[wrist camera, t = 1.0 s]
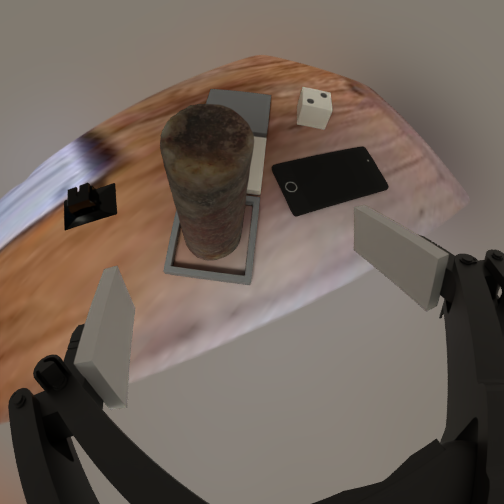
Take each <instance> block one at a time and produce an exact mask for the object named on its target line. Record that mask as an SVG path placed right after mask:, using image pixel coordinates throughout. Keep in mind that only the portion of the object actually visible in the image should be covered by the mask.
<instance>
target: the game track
mask: <svg viewBox="0 0 504 504" xmlns="http://www.w3.org/2000/svg"><path fill="white" fill-rule="evenodd" d="M270 101H271V95H266V94H258V93H250V92H241V91H231V90H218V89H211V90H210V93H209V96H208V99H207V102H206V104H217V105H223V106H226V107H228V108H231V109H232V110H234V111H235V112H237V113H238V114H239V115H240V116H241V117H242V118H243V119H244V120H245V121H247V123H248V124H249V126H250V128H251V130H252V132H253V135H254V148H253V155H252V160H251V166H250V174H249V181H248V187H247V194H253V195H260V193H261V185H262V176H263V166H264V157H265V148H266V139H267V138H266V136H267V129H268V120H269V111H270ZM259 203H260V197H254V196H246V202H245V205H252V206H253V210H252V219H251V227H250V235H249V244H248V252H247V261H246V270H245V276H241V275H233V274H225V273H217V272H210V271H202V270H195V269H187V268H180V267H173V263H174V257H175V252H176V247H177V242H178V237H179V232H180V227H181V224H180V221H179V217H178V213H177V210H176V214H175V218H174V223H173V227H172V232H171V236H170V241H169V246H168V251H167V256H166V261H165V266H164V273H165V274H170V275H177V276H184V277H191V278H199V279H206V280H214V281H221V282H229V283H237V284H245V285H250V284H251V276H252V267H253V258H254V249H255V240H256V231H257V222H258V212H259Z"/></svg>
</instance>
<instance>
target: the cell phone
mask: <svg viewBox="0 0 504 504" xmlns="http://www.w3.org/2000/svg"><path fill="white" fill-rule="evenodd" d="M272 171H273V174H274V176H275V178H276V180H277V182H278V184H279V186H280V188H281V190H282V193H283V195H284V197H285V199H286V201H287V203H288V205H289V208H290V210H291V212H292V214H293V215H294V216H300V215H303V214H306V213H309V212H313V211H316V210H319V209H323V208H326V207H330V206H333V205H336V204H340V203H343V202H346V201H350V200H353V199H357V198H360V197H364V196H367V195H371V194H374V193H377V192H381V191H384V190H387V189H388V184H387V182H386V180H385V179H384V177H383V175H382V174H381V172H380V170H379V169H378V167H377V165H376V164H375V162H374V160H373V159H372V157H371V156H370V154H369V153H368V151H367V149H366V148H365V147H357V148H351V149H346V150H340V151H335V152H330V153H325V154H320V155H315V156H311V157H306V158H302V159H297V160H293V161H288V162H284V163H280V164H276V165H273V166H272Z"/></svg>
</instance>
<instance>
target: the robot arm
mask: <svg viewBox="0 0 504 504" xmlns="http://www.w3.org/2000/svg"><path fill="white" fill-rule="evenodd" d="M354 251H356V252H357V253H358V254H359V255H361V256H362V257H363V258H364V259H365V260H367V261H368V262H369V263H370V264H372V265H373V266H374V267H375V268H376V269H378V270H379V271H380V272H381V273H382V274H384V275H385V276H386V277H387V278H388V279H390V280H391V281H392V282H393V283H394V284H395V285H397V286H398V287H399V288H400V289H401V290H402V291H403V292H405V293H406V294H407V295H408V296H409V297H410V298H411V299H413V300H414V301H415V302H416V303H417V304H418V305H420V307H422V308H423V309H424V310H425V311H428V310H430V309H432V308H434V307H436V306H437V304H438V301H439V297H440V295H441V296H442V297H443V298H444V303H443V306H442V310H441V313H440V317H439V318H442V315H443V314H444V319H445V329H446V343H447V363H448V401H447V420H446V428H445V431H444V434H443V436H442V439H441V442H440V443H439V441H438V440H437V439H435V440H434V441H432V442H431V443H429V444H428V445H427V446H425V447H424V448H422V449H421V450H419V451H417V452H416V453H414V454H413V455H411V456H410V457H409V458H408V459H407V460H406V461H405V462H404V463H403V464H402V465H401V466H400V467H399V468H398V469H397V470H396V471H394V473H392V474H391V475H390V476H389V477H388V478H387V479H385V480H384V481H382V482H379V483H376V484H372V485H368V486H364V487H360V488H355V489H351V490H347V491H343V492H341V493H338V494H336V495H333V496H331V497H329V498H326V499H323V500H321V501H318V502H315V503H312V504H504V254H503V253H502V252H501V251H499V250H498V251H497V250H488V251H487V252H486V256H485V260H480V261H478V260H477V259H476V258H474V257H473V256H471V255H468V254H458V255H456V256H454V255H453V254H451V253H450V252H448V251H447V250H445V249H443V248H442V247H440V246H437V244H435V243H434V242H431V240H429V239H427V238H425V237H424V236H421V235H417V234H416V233H414V232H412V231H411V230H409V229H407V228H405V227H404V226H402V225H400V224H399V223H397V222H395V221H393V220H391V219H390V218H388V217H386V216H384V215H382V214H381V213H379V212H377V211H375V210H373V209H371V208H369V207H368V206H366V205H362V206H358V207H354ZM500 287H501V289H502V295H501V297H500V298H499V296H498V295H497V294H498V291H499V288H500ZM134 315H135V306H134V304H133V302H132V300H131V297H130V295H129V293H128V290H127V288H126V286H125V283H124V281H123V279H122V276H121V274H120V271H119V269H118V266H114V267H110V268H107V269H104V271H103V274H102V276H101V279H100V282H99V284H98V287H97V290H96V293H95V296H94V298H93V301H92V304H91V307H90V310H89V313H88V316H87V319H86V322H85V324H82V325H78V327H77V328H76V329H75V331H74V332H73V333H72V336H71V339H70V343H69V345H68V348H67V349H68V350H67V352H66V355H65V358H64V362H63V361H62V359H61V358H60V357H59V356H58V355H49V356H46V357H45V358H43V359H41V360H40V361H39V362H38V363H37V365H36V367H35V368H34V373H33V375H34V378H35V380H36V381H37V382H38V383H39V384H40V386H41V387H42V388H43V389H44V390H45V391H43V392H40V393H38V394H36V395H33V394H32V393H31V392H30V390H28V389H27V388H21V389H18V390H17V391H16V392H14V393H13V394H12V396H11V398H10V400H9V405H8V409H9V419H10V428H11V435H12V442H13V448H14V453H15V458H16V463H17V468H18V472H19V476H20V481H21V484H22V488H23V491H24V495H25V498H26V502H27V504H99V502H98V500H97V498H96V496H95V494H94V492H93V490H92V488H91V486H90V484H89V481H88V479H87V477H86V475H85V472H84V470H83V468H82V465H81V463H80V460H79V458H78V455H77V453H76V450H75V448H74V445H73V442H72V439H71V436H74V437H75V438H76V440H77V441H78V442H79V444H80V445H81V447H82V448H83V449H84V451H85V452H86V453H87V455H88V456H89V457H90V459H91V460H92V461H93V462H94V464H95V465H96V466H97V467H98V469H99V470H100V471H101V472H102V473H103V474H104V476H105V477H106V478H107V479H108V480H109V481H110V483H111V484H112V485H113V486H114V487H115V488H116V489H117V490H118V491H119V492H120V493H121V494H122V496H123V497H124V498H125V499H126V500H127V501H128V502H129V503H130V504H209V503H208V502H206V501H204V500H203V499H202V498H200V497H199V496H197V495H196V494H195V493H193V492H192V491H191V490H189V489H188V488H186V487H185V486H184V485H182V484H181V483H180V482H178V481H177V480H176V479H175V478H174V477H172V476H171V475H170V474H169V473H167V472H166V471H165V470H164V469H162V468H161V467H160V466H159V465H158V464H157V463H155V462H154V461H153V460H152V459H151V458H150V457H149V456H148V455H146V454H145V453H144V452H143V451H142V450H141V449H140V448H139V447H138V446H137V445H136V444H135V443H134V442H133V441H132V440H131V439H130V438H129V437H127V435H126V434H125V433H123V432H122V430H121V429H120V428H119V427H118V426H117V425H116V424H115V423H114V422H113V421H112V420H111V419H110V418H109V417H108V416H107V414H106V413H105V412H104V411H103V410H102V409H103V402H104V403H105V404H106V405H107V406H108V408H109V409H110V410H113V409H121V408H127V399H128V380H129V365H130V353H131V342H132V333H133V324H134Z"/></svg>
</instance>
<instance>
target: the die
mask: <svg viewBox="0 0 504 504" xmlns="http://www.w3.org/2000/svg"><path fill="white" fill-rule="evenodd" d="M331 113H332V102H331V94H330V93H329V92H325V91H320V90H316V89H311V88H306V87H302V90H301V94H300V98H299V101H298V105H297V125H303V126H308V127H313V128H319V129H323V130H325V127H326V125H327V123H328V120H329V118H330V116H331Z"/></svg>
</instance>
